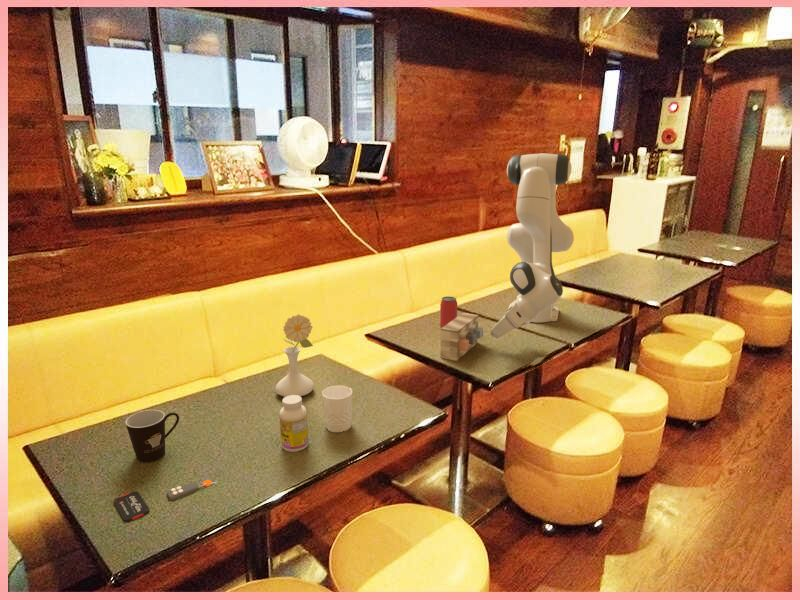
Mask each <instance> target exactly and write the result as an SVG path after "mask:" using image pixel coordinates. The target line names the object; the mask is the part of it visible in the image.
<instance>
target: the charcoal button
mask: <svg viewBox="0 0 800 600" xmlns="http://www.w3.org/2000/svg"><path fill="white" fill-rule="evenodd" d="M466 339H467V340H469V344H471V345H473V344H474V343H475V342H476V334H474V333H468V334H467V335H466Z"/></svg>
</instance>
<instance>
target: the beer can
mask: <svg viewBox="0 0 800 600" xmlns="http://www.w3.org/2000/svg"><path fill="white" fill-rule="evenodd" d="M439 313H440V314H439V317H440V318H439V327H440V329H441V328H442V327H444V326H445V325H447V324H448V323H449V322H451V321H452V320H454V319H455V318H456V317H458V301H457V298H456V297H453V296H443V297H442V298H441V300H440V312H439Z"/></svg>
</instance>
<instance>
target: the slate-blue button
mask: <svg viewBox="0 0 800 600" xmlns="http://www.w3.org/2000/svg"><path fill="white" fill-rule="evenodd" d="M473 333H474V334H476V338H478V339H482V337H483V336H484V328H483V327H479V326H478V327H475V328H474V329H473Z"/></svg>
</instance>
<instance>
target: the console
mask: <svg viewBox="0 0 800 600" xmlns="http://www.w3.org/2000/svg"><path fill="white" fill-rule="evenodd" d="M475 327H479V314H475V313H474V314H473V313H467V312H462V313H461V314H459V315H457V317H456V318H455V319H454V320H452V321H451V322H449V323H448V324H447V325H445V326H444V327H442V328H441V327H440V358H441V359H445V360H450V361H456V362H458V361H459V359H460V358H461V357H463V356H464V355H465V354H466V353H468V352H469V350H471V349H472V348H473V347H474V346H475V345H477V344H478V342H479V341H478V338H476V342H475V343H474V344H473V345H471V344H469V348H468V349H467V350H466V351H462V350H458V341H459V340H460V339H466V335H467V334H468V333H473V329H474V328H475Z"/></svg>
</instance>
